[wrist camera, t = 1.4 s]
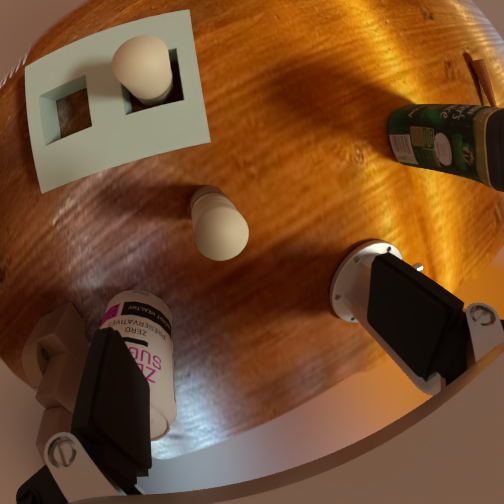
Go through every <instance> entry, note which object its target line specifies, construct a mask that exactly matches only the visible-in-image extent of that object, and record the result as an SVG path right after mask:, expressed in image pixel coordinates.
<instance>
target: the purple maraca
mask: <svg viewBox="0 0 504 504" xmlns="http://www.w3.org/2000/svg"><path fill="white" fill-rule="evenodd" d="M470 64H471V66H472V68H473V69H474V71H475V73H476V75H477V77H478V79H479V81H480V83H481V85H482V88H483V90H484V92H485V94H486V96H487V99H488V101H489V103H490V106H491V107H496V102H495V98H494V94H493V90H492V86H491V82H490V79H489V75H488V72H487V69H486V66H485V63H484V60H475V61H471V62H470Z"/></svg>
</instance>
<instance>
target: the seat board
mask: <svg viewBox="0 0 504 504" xmlns="http://www.w3.org/2000/svg"><path fill="white" fill-rule="evenodd" d="M175 61H177V63H178V70H179V76H180V83H181V89H182V95H183V100H182V101H178V102H173V103H169V104H165V105H161V104H163V103H165V102H166V101H167V100H168V99H169V98H170V97H171V95H172V93H173V88H174V86H173V76H172V71H171V67H170V63H171V62H175ZM85 88H87V92H88V100H89V108H90V115H91V121H92V127H89V128H87V129H84V130H82V131H79V132H77V133H74V134H72V135H69V136H67V137H65V138H62V139H61V134H60V128H59V121H58V114H57V105H56V101H57V100H59V99H61V98H63V97H66V96H68V95H70V94H73V93H75V92H77V91H80V90H82V89H85ZM25 91H26V106H27V116H28V125H29V133H30V140H31V146H32V152H33V157H34V162H35V167H36V172H37V176H38V180H39V185H40V189H41V193H42V194H43V193H45V192H47V191H50V190H52V189H54V188H57V187H59V186H62V185H64V184H67V183H69V182H72V181H75V180H77V179H80V178H83V177H85V176H88V175H91V174H94V173H97V172H100V171H103V170H106V169H109V168H112V167H115V166H118V165H121V164H124V163H128V162H131V161H134V160H138V159H141V158H145V157H149V156H152V155H156V154H160V153H164V152H168V151H172V150H176V149H180V148H185V147H189V146H194V145H198V144H203V143H208V142H211V141H210V135H209V129H208V124H207V118H206V112H205V106H204V101H203V95H202V89H201V83H200V77H199V70H198V64H197V58H196V51H195V45H194V38H193V32H192V25H191V18H190V11H189V10H183V11H177V12H171V13H166V14H161V15H157V16H152V17H148V18H144V19H140V20H136V21H133V22H129V23H126V24H122V25H119V26H116V27H113V28H110V29H107V30H104V31H101V32H98V33H96V34H93V35H90V36H88V37H85V38H83V39H80V40H78V41H76V42H73V43H71V44H69V45H67V46H64V47H62V48H60V49H58V50H56V51H54V52H52V53H50V54H48V55H46V56H44V57H42V58H40V59H39V60H37V61H35V62H33V63H31V64H30V65H28V66H26V67H25ZM129 91H130V92H131V94H132V95H133V96H135V97H136V98H137V99H138V100H139V101H140V102H142V103H143V104H144V105H147V106H156V107H153V108H149V109H145V110H141V111H138V112H134V113H133V112H132V106H131V100H130V93H129ZM159 105H160V106H159Z"/></svg>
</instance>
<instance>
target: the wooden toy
mask: <svg viewBox="0 0 504 504" xmlns="http://www.w3.org/2000/svg"><path fill="white" fill-rule="evenodd" d="M85 327H86V323H85V321H84V320H83V318H82V317H81V316H80V314H79V313H78V311H77V310H76V308H75V307H74V305H73V304H72V302H68V303H66V304H63V305H61V306H59V307H57V308H55V309H54V310H53V312H51V313H48V314H46V315H44V316H42V317H40V319H39V320H38V322H37V324H36V325H35V327H34V329H33V330H32V332H31V334H30V336H29V337H28V339H27V341H26V343H25V345H24V347H23V350H22V367H23V370H24V373H25V376H26V378H27V380H28V382H29V384H30V386H31V387H36V386H39V389H38V391H37V394H36V400H37V401H38V402H39V403H40V404H41V405H42V406H43V407H45V408H46V409H45V410H44V413H43V416H42V420H41V424H40V428H39V432H38V436H37V441H36V446H37V448H38V451H39V453H40V455H41V458H42V460H43V462H44V464H45V465H46V461H45V458H44V450H45V446H46V444H47V442H48V440H49V439H50V438H51V437H52V436H54V435H55V434H57V433H61V432H67V433H70V432H71V423H72V417H73V412H74V408H75V403H76V398H77V394H78V390H79V386H80V382H81V378H82V374H83V370H84V366H85V363H86V359H87V356H88V353H89V347H88V344H87V341H86V335H85Z"/></svg>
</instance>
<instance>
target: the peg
mask: <svg viewBox="0 0 504 504" xmlns="http://www.w3.org/2000/svg"><path fill="white" fill-rule="evenodd" d="M190 208H191V220H192V224H193V232H194V239H195V243H196V246H197V248H198V250H199V251H200V252H201V253H202V254H203V255H204V256H206V257H207V258H209V259H212V260H218V261H223V260H228V259H231V258H233V257H235V256H237V255H238V254H239V253H240V252H241V251H242V250H243V249H244V247H245V246H246V243H247V241H248V236H249V231H248V226H247V223H246V221H245V220H244V218H243V217H242V216H241V215H240V213H239V212H238V211H237V210H236V208H235V207H234V206H233V205H232V203H231V201H230V200H229V199H228V198H227V197H226V196H225V195H224V193H223V192H222V191H221V190H220V189H219V188H217V187H215V186H210V185H207V186H202V187H200V188H198V189H197V190H196V191H195V192H194V193H193V195H192V197H191V200H190Z"/></svg>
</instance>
